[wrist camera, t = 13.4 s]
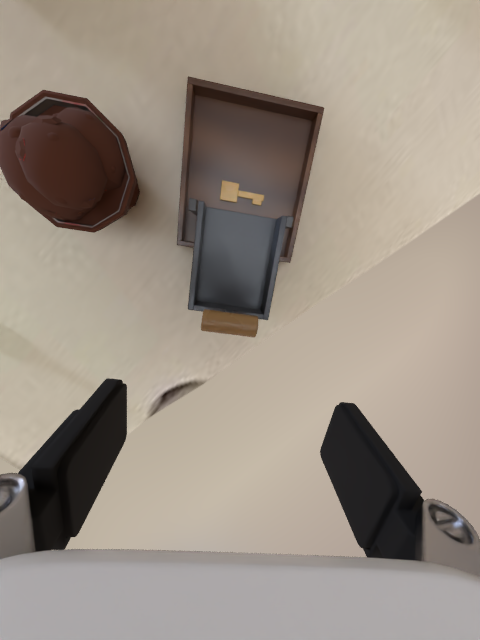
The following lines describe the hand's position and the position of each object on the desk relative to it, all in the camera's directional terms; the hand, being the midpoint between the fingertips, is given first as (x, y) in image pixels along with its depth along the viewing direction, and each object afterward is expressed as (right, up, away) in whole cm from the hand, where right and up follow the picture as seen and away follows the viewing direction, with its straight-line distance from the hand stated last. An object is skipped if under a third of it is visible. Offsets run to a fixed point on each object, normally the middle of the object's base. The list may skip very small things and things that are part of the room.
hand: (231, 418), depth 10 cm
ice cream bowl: (-15, +21, +20) cm, 33 cm away
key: (+1, +21, +20) cm, 28 cm away
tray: (+1, +22, +20) cm, 30 cm away
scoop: (0, +11, +17) cm, 20 cm away
